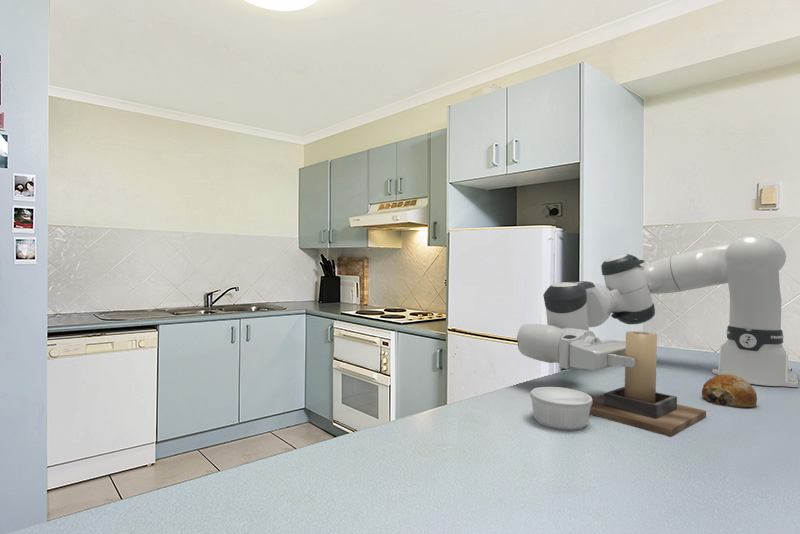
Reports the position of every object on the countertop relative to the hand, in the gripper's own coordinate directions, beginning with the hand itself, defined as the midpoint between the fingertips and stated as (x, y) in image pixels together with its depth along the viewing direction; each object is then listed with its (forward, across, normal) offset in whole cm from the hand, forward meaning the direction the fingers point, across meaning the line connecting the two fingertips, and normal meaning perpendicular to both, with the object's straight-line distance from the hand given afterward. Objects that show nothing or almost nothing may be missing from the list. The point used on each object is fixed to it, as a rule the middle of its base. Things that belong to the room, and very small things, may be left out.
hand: (645, 360), depth 92 cm
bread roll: (+8, -26, -11) cm, 29 cm away
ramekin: (-8, +18, -11) cm, 23 cm away
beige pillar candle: (-1, 0, -10) cm, 10 cm away
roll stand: (-1, 0, -11) cm, 11 cm away
